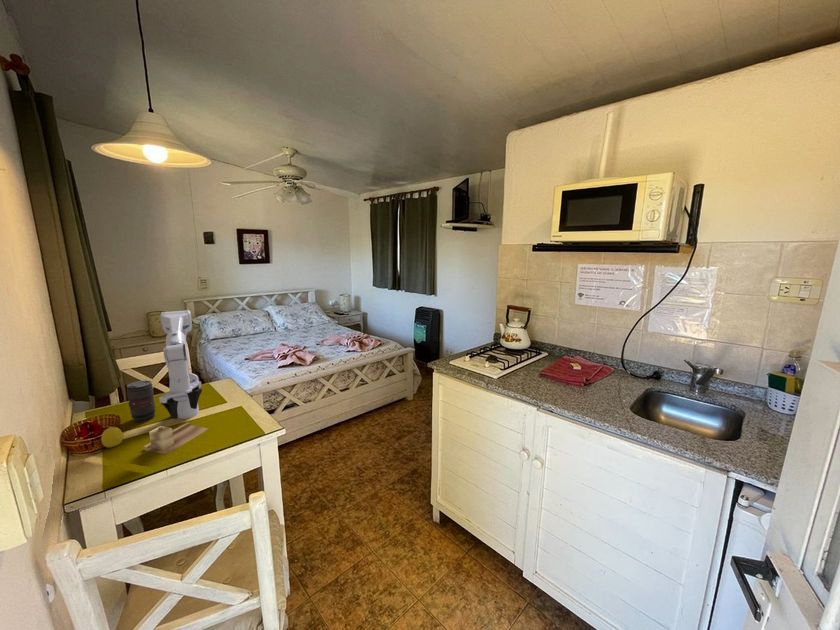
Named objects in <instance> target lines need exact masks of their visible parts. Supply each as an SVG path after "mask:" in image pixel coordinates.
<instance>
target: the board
mask: <svg viewBox="0 0 840 630" xmlns="http://www.w3.org/2000/svg"><path fill="white" fill-rule="evenodd" d="M209 429H210V428H209V427H203V426H198V425H191V422H186V423H184V424H182V425H180V426H178V427H177V428H174V429H172V433H173V439H174V444H173V445H171V446H170V447H168V448H166V449H164V450H159V449H154V448H152V447H151V442H149V443H146V444H145V445H143V446H142V448H143V451H147V452H151V453H153V452H154V453H156V454H157V453H158V454H161V455H162V454H163V455H168V454H171V453H172V452H173V451H175V450H177V449H178V448H180V447H181V446H184V445H185V444H187V443H189V441H192V440H193V439H195V438H196V437H198V436H200V435H202V434H203V433H205V432H206V431H208V430H209Z"/></svg>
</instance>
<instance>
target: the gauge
mask: <svg viewBox="0 0 840 630" xmlns="http://www.w3.org/2000/svg"><path fill="white" fill-rule="evenodd" d="M172 431H173V428H172V427H169V426H168V427H167V426H161V425H160V426H158V427H156V428H154V429H152V430H151V431H149V432H148V433H149V441H150V443H151V447H152V448H154V449H159V450H164V449H166V448H168V447H170V446H171V445H173V444H174V439H173V433H172Z"/></svg>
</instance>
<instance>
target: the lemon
mask: <svg viewBox="0 0 840 630" xmlns="http://www.w3.org/2000/svg"><path fill="white" fill-rule="evenodd" d="M123 438H124V435H123V432H122V430H121V429H120V428H119V427H116V426H109V427H108V428H106V429H105V430H104V431H103V432H102V434H101V444H102V445H103V446H104V447H105V448H114V447H117V446H119V445H120V444H121V443H122V442H123V440H124V439H123Z"/></svg>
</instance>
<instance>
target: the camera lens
mask: <svg viewBox="0 0 840 630" xmlns="http://www.w3.org/2000/svg"><path fill="white" fill-rule="evenodd" d="M126 394H127V399H128V407H129V411H130V414H131V418H132V419H133V421H134V422H135V423H143V422H147V421H150V420H151V419H154V418H155V416H156V404H155V396H154V386H153V383H152V381H151V380H138V381H133V382H131V383H129V384H127V385H126Z"/></svg>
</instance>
